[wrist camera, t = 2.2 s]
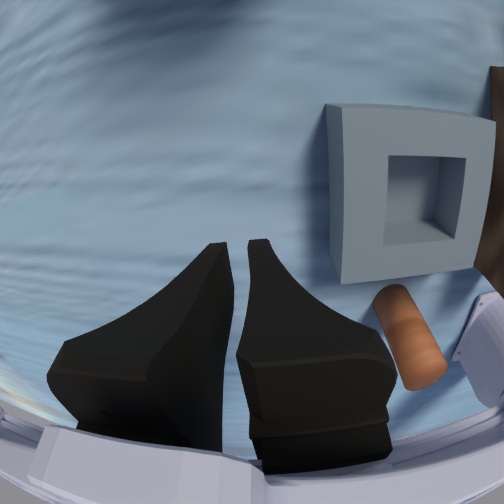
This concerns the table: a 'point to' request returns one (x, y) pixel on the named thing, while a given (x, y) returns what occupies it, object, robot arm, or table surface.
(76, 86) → the table surface
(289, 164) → the table surface
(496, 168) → the walnut wall
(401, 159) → the socket block
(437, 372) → the dowel
